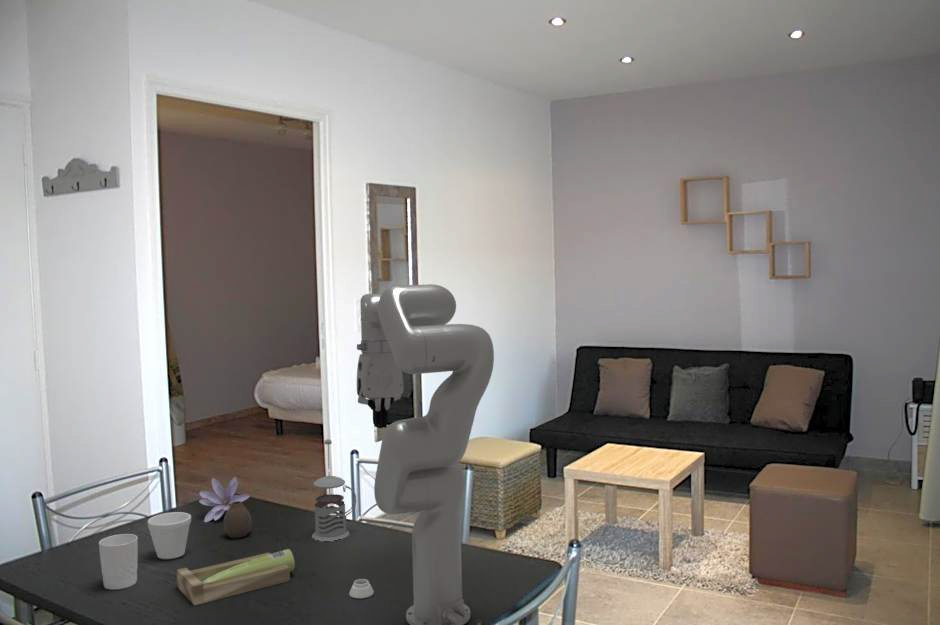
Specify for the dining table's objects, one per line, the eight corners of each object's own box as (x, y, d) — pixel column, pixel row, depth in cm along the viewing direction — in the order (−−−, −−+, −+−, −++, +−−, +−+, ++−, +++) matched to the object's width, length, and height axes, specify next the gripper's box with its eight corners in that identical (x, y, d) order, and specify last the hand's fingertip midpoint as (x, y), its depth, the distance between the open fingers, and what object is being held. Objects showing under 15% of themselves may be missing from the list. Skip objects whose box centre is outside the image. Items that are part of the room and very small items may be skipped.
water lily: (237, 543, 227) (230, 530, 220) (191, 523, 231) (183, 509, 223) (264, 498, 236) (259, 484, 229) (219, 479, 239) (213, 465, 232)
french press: (308, 531, 214) (305, 437, 213) (352, 526, 219) (349, 433, 217) (315, 543, 205) (311, 444, 204) (360, 537, 209) (358, 440, 208)
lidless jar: (358, 602, 170) (378, 595, 173) (358, 588, 170) (377, 581, 173) (344, 595, 174) (364, 588, 177) (344, 581, 173) (363, 575, 177)
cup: (140, 561, 195) (138, 523, 195) (165, 547, 205) (163, 510, 204) (177, 564, 193) (175, 526, 192) (201, 549, 203) (199, 513, 202)
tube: (293, 577, 186) (206, 600, 176) (285, 560, 190) (199, 582, 179) (296, 560, 183) (208, 583, 173) (289, 543, 187) (201, 564, 176)
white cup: (128, 574, 187) (126, 531, 187) (146, 582, 182) (144, 538, 182) (94, 585, 181) (92, 541, 181) (112, 594, 176) (109, 548, 176)
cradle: (290, 580, 182) (289, 563, 181) (194, 605, 169) (193, 586, 169) (269, 565, 191) (268, 548, 191) (177, 587, 179) (176, 569, 179)
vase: (222, 534, 214) (221, 501, 214) (249, 529, 217) (248, 497, 217) (226, 542, 208) (225, 508, 207) (254, 537, 211) (252, 504, 210)
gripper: (356, 351, 180) (359, 434, 181) (414, 346, 189) (416, 425, 190) (341, 348, 186) (343, 429, 187) (398, 343, 195) (400, 420, 196)
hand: (380, 426), depth 189 cm, fingers closed
